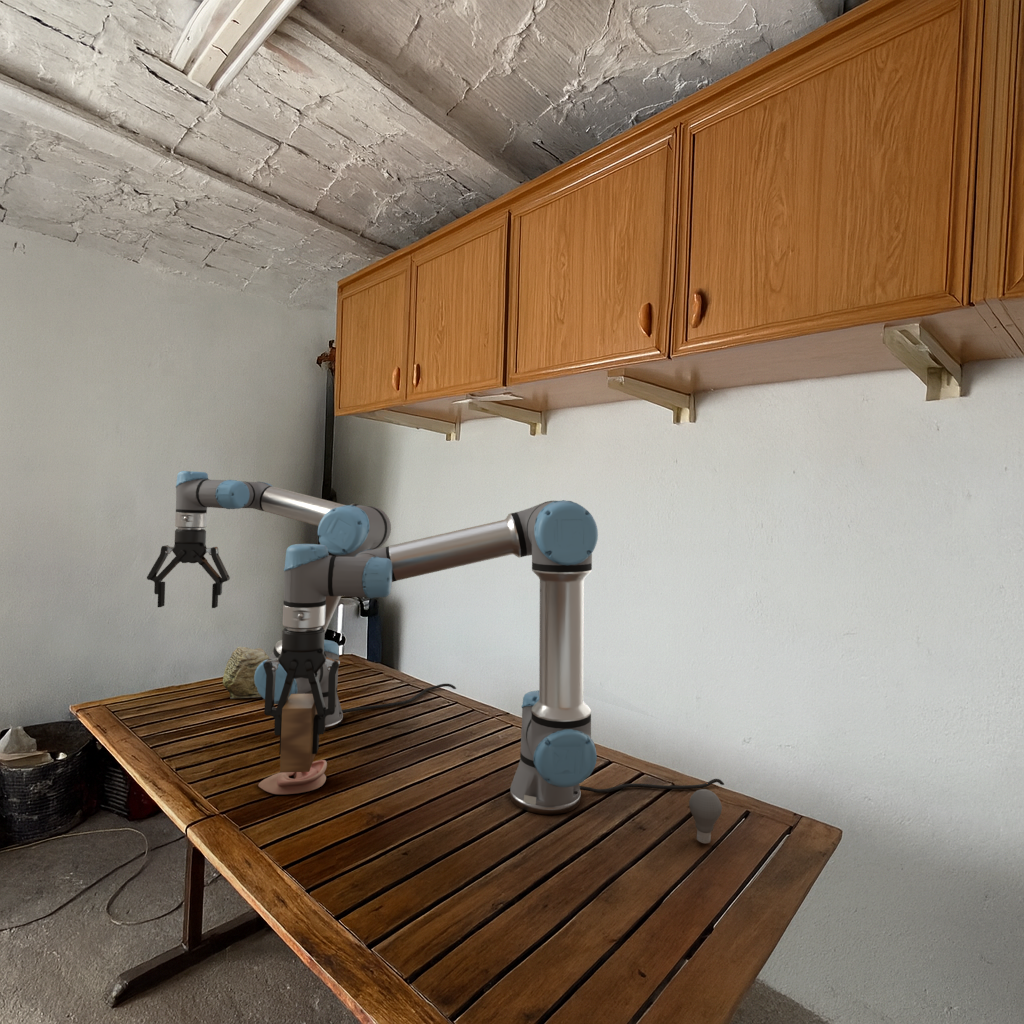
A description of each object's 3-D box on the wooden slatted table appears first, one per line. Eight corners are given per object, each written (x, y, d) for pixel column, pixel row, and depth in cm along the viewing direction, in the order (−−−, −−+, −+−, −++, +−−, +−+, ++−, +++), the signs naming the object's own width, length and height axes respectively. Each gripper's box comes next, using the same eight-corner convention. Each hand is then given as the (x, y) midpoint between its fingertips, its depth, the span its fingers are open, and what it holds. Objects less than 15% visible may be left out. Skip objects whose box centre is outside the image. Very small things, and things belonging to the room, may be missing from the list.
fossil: (218, 695, 195) (220, 647, 195) (278, 685, 208) (279, 640, 207) (228, 703, 189) (230, 653, 188) (289, 692, 201) (290, 645, 201)
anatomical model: (250, 772, 134) (280, 751, 146) (249, 790, 135) (280, 768, 146) (307, 780, 132) (333, 759, 143) (306, 799, 132) (333, 776, 143)
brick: (279, 772, 113) (282, 708, 113) (288, 753, 122) (291, 693, 122) (309, 771, 114) (311, 708, 114) (316, 752, 123) (318, 693, 122)
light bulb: (682, 833, 125) (685, 783, 125) (712, 833, 125) (714, 783, 125) (694, 850, 119) (696, 797, 119) (725, 850, 119) (727, 798, 119)
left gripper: (134, 527, 165) (132, 608, 165) (235, 530, 169) (232, 610, 170) (146, 526, 173) (144, 603, 173) (243, 529, 177) (240, 605, 177)
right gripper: (247, 631, 112) (242, 760, 113) (352, 632, 115) (347, 758, 116) (257, 622, 120) (253, 744, 120) (355, 623, 123) (351, 742, 123)
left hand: (188, 607), depth 171 cm, fingers open, 13 cm apart
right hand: (299, 751), depth 118 cm, fingers closed on brick, 5 cm apart
